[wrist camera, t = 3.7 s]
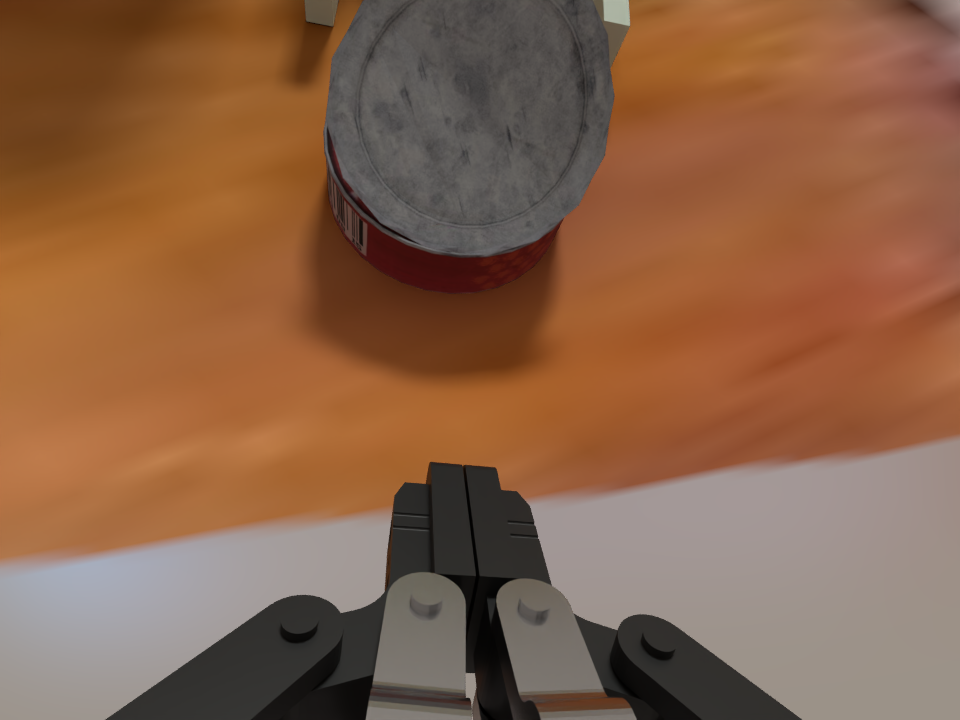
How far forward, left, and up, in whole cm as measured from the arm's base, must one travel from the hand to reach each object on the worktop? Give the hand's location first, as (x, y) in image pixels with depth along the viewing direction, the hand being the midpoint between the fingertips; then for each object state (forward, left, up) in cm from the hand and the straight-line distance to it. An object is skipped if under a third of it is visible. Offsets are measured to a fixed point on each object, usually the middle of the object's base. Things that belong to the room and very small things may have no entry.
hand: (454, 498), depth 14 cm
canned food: (0, -14, -7) cm, 16 cm away
